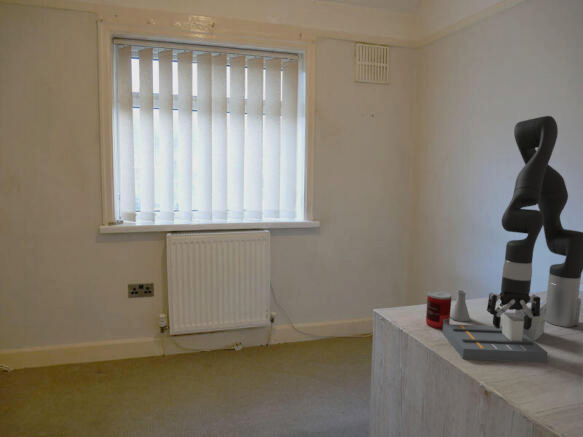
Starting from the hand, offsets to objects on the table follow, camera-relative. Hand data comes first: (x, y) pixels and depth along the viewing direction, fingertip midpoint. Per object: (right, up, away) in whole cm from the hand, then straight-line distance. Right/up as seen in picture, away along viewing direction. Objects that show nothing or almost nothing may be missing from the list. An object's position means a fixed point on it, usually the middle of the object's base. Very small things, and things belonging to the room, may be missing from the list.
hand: (511, 328), depth 121 cm
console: (-6, -6, +1) cm, 8 cm away
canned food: (-16, -4, +17) cm, 24 cm away
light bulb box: (+12, -5, +11) cm, 17 cm away
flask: (-6, -3, +24) cm, 25 cm away
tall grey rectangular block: (0, -3, 0) cm, 3 cm away
